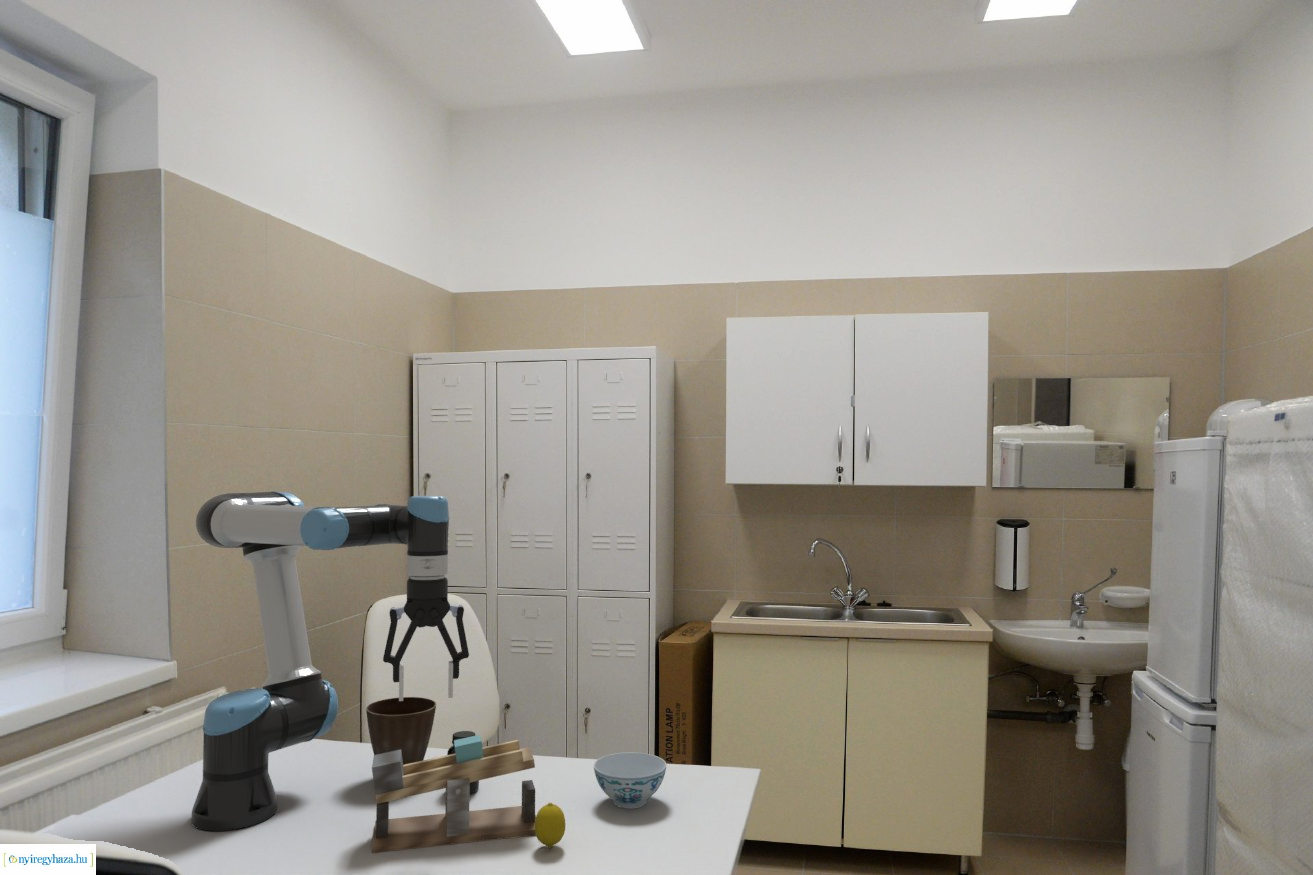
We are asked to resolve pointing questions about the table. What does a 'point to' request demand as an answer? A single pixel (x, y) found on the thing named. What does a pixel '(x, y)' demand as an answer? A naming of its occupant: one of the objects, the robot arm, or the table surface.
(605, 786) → the chinaware
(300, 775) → the table surface
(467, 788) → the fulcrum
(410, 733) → the plant pot
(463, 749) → the block
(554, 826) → the lemon
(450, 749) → the supplement bottle
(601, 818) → the table surface
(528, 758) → the beam
